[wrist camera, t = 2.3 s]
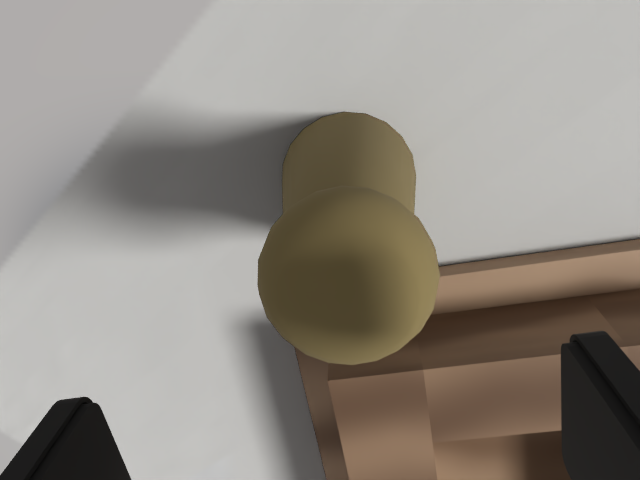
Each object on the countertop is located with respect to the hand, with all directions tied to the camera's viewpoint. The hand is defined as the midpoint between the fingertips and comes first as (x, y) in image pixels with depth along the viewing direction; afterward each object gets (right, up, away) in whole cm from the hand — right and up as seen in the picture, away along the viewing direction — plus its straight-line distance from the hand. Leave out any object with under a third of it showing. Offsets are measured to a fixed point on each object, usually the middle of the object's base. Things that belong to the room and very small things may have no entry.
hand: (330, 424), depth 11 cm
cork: (+1, +7, +13) cm, 15 cm away
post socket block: (+10, -6, +18) cm, 22 cm away
